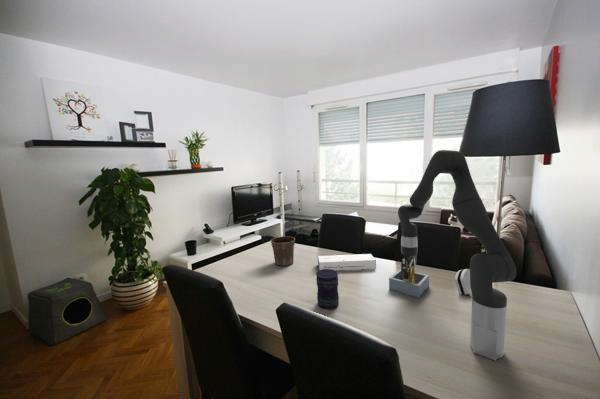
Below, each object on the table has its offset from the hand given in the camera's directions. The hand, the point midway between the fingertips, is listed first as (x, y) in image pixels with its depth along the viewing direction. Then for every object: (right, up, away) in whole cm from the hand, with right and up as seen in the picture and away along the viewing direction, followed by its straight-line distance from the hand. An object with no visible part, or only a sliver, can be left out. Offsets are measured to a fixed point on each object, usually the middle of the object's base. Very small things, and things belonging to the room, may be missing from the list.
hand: (409, 275), depth 132 cm
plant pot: (-65, -4, +43) cm, 78 cm away
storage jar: (-42, -10, -10) cm, 44 cm away
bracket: (0, -6, +1) cm, 6 cm away
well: (0, -6, +1) cm, 6 cm away
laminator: (-26, -4, +33) cm, 42 cm away
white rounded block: (+27, -6, -2) cm, 28 cm away
